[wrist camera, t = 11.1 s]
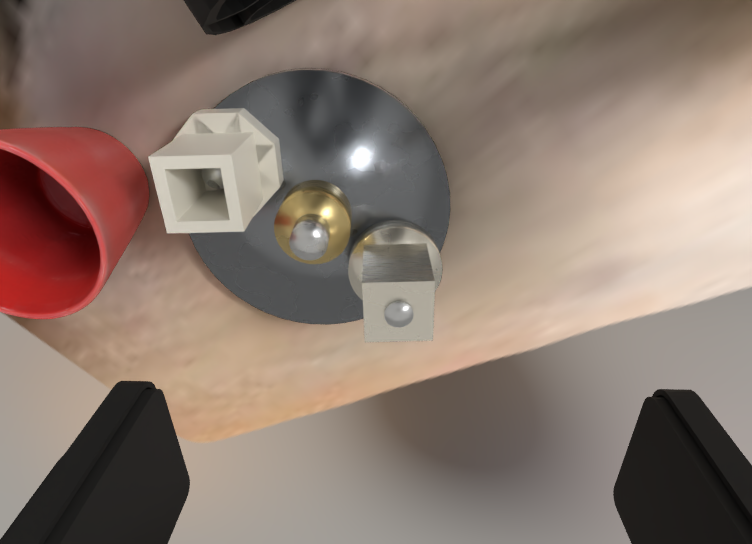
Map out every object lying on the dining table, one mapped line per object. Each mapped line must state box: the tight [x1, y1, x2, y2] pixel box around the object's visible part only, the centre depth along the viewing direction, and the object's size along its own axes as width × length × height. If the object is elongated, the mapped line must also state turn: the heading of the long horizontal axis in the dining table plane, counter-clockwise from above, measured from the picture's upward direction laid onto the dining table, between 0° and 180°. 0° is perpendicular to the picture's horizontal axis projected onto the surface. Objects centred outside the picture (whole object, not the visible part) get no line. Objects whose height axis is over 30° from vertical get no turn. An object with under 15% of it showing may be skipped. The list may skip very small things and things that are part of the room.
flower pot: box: [0, 127, 149, 319], centre depth 30 cm, size 11×11×10 cm
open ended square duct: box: [148, 108, 284, 233], centre depth 30 cm, size 7×7×7 cm
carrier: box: [189, 68, 450, 342], centre depth 32 cm, size 19×19×8 cm
